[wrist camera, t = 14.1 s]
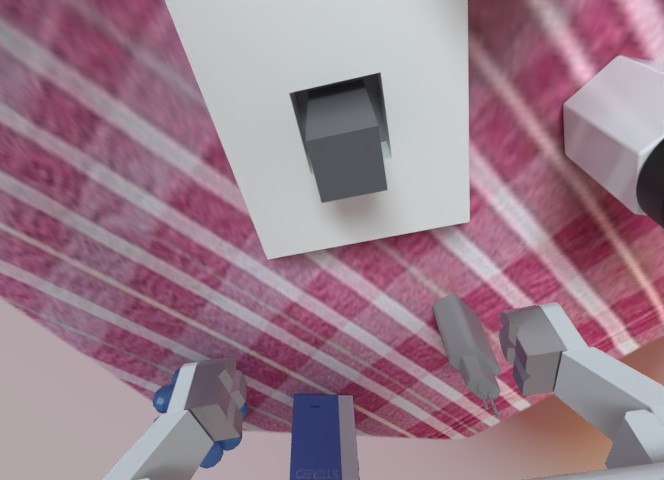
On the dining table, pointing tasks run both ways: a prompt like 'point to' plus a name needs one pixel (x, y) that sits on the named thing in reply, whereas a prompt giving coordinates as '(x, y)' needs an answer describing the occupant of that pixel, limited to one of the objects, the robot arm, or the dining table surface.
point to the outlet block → (325, 71)
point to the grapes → (217, 448)
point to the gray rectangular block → (344, 142)
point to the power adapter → (468, 347)
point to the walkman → (323, 438)
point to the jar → (621, 133)
